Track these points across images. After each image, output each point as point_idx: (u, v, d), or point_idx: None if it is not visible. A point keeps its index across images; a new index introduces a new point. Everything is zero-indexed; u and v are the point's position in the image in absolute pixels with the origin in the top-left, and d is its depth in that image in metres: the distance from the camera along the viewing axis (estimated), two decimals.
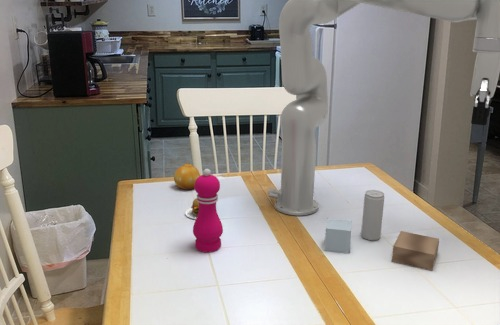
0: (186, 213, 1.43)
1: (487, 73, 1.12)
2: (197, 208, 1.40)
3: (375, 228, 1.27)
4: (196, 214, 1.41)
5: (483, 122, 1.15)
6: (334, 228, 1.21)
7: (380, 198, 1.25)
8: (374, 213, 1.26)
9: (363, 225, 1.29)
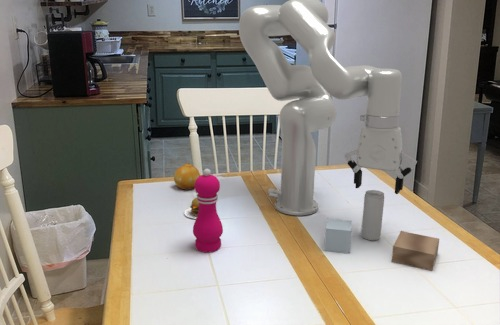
0: (185, 213, 1.43)
1: (401, 146, 1.21)
2: (196, 208, 1.41)
3: (375, 228, 1.27)
4: (195, 214, 1.41)
5: None
6: (334, 228, 1.21)
7: (380, 198, 1.25)
8: (374, 213, 1.26)
9: (363, 225, 1.29)
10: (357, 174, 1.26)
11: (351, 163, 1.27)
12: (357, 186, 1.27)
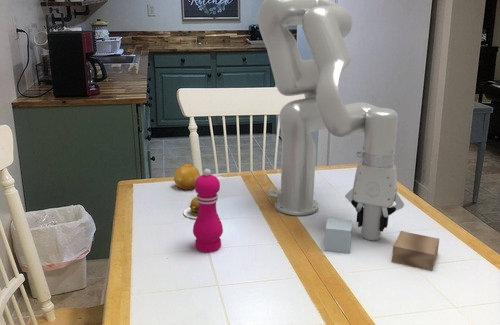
0: (184, 213, 1.43)
1: (396, 183, 1.24)
2: (195, 207, 1.41)
3: (375, 228, 1.27)
4: (194, 213, 1.42)
5: None
6: (334, 228, 1.21)
7: None
8: (374, 213, 1.26)
9: (363, 225, 1.29)
10: (360, 214, 1.29)
11: (354, 202, 1.29)
12: (360, 225, 1.29)
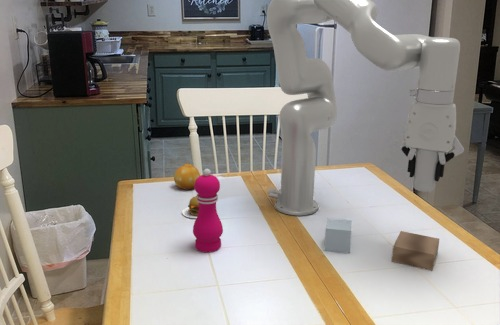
0: (183, 212, 1.43)
1: None
2: (194, 207, 1.41)
3: (430, 177, 1.12)
4: (193, 213, 1.42)
5: None
6: (334, 228, 1.21)
7: None
8: (429, 159, 1.10)
9: (416, 174, 1.13)
10: (412, 161, 1.13)
11: (406, 149, 1.14)
12: (411, 175, 1.14)
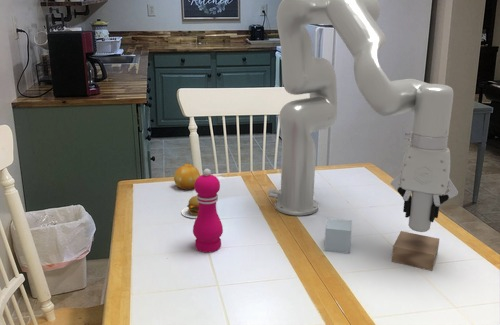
0: (182, 212, 1.43)
1: None
2: (194, 207, 1.41)
3: (425, 218, 1.15)
4: (193, 213, 1.42)
5: None
6: (334, 228, 1.21)
7: None
8: (424, 201, 1.13)
9: (411, 215, 1.16)
10: (408, 202, 1.16)
11: (401, 190, 1.17)
12: (407, 215, 1.17)
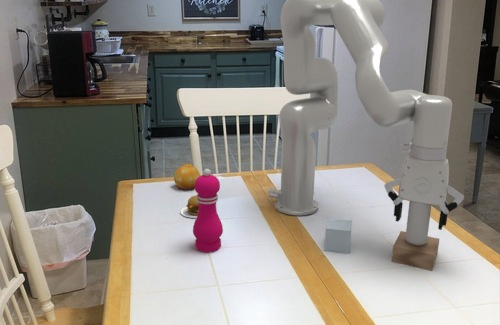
0: (181, 212, 1.43)
1: (448, 179, 1.12)
2: (193, 207, 1.41)
3: (422, 232, 1.16)
4: (192, 213, 1.42)
5: None
6: (334, 228, 1.21)
7: None
8: (421, 216, 1.15)
9: (408, 229, 1.18)
10: (398, 207, 1.17)
11: (392, 194, 1.18)
12: (397, 219, 1.18)
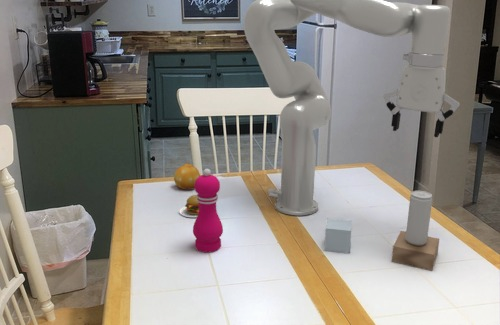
0: (180, 212, 1.44)
1: (444, 87, 1.17)
2: (192, 206, 1.42)
3: (422, 232, 1.16)
4: (191, 212, 1.42)
5: (439, 132, 1.21)
6: (334, 228, 1.21)
7: (428, 199, 1.14)
8: (421, 216, 1.15)
9: (408, 229, 1.18)
10: (396, 116, 1.22)
11: (390, 104, 1.23)
12: (395, 128, 1.23)
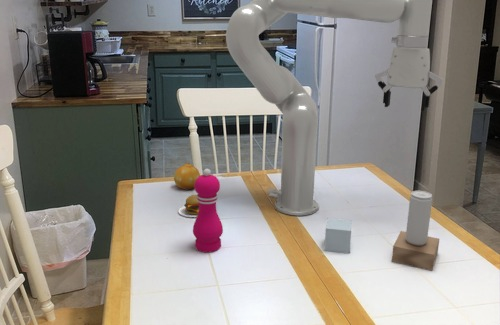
0: (179, 212, 1.44)
1: (429, 65, 1.31)
2: (191, 206, 1.42)
3: (422, 232, 1.16)
4: (190, 212, 1.42)
5: (425, 107, 1.35)
6: (334, 228, 1.21)
7: (428, 199, 1.14)
8: (421, 216, 1.15)
9: (408, 229, 1.18)
10: (387, 93, 1.36)
11: (381, 83, 1.37)
12: (386, 105, 1.37)
